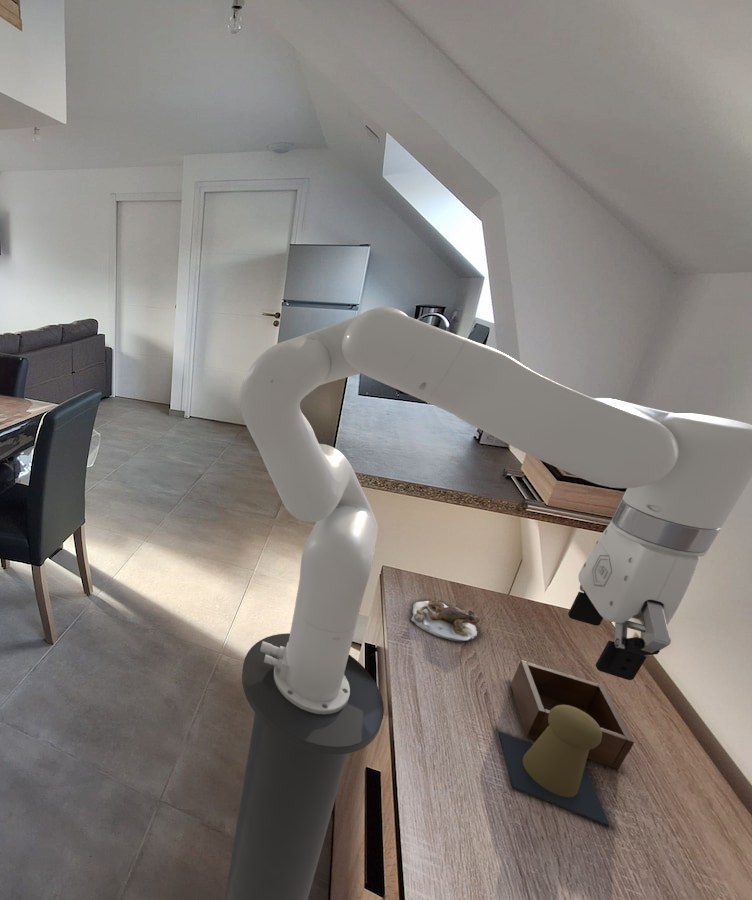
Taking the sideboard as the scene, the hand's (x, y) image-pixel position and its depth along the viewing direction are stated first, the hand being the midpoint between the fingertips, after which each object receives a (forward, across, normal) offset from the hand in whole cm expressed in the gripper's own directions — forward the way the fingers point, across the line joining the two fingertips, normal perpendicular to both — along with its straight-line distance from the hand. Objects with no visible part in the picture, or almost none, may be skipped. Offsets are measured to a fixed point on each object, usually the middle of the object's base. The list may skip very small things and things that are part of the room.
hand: (596, 645), depth 56 cm
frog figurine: (+22, -28, -9) cm, 37 cm away
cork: (+22, +1, +2) cm, 22 cm away
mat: (+22, +1, +2) cm, 22 cm away
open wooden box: (+22, -10, +6) cm, 25 cm away
